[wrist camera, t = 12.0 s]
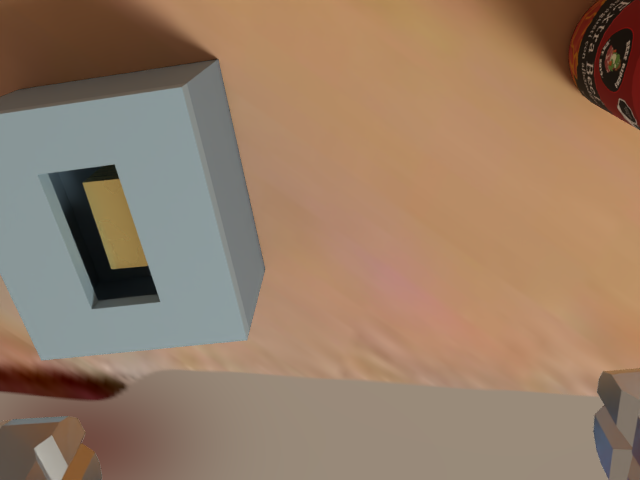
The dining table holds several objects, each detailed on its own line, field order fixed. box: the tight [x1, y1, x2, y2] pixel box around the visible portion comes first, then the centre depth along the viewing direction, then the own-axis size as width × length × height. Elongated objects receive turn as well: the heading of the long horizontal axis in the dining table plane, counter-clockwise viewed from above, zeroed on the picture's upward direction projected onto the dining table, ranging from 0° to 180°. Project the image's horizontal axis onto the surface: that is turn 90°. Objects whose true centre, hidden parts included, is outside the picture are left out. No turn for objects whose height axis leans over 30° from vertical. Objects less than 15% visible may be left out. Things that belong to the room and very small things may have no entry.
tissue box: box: [0, 59, 265, 360], centre depth 36 cm, size 16×14×9 cm
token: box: [83, 164, 148, 269], centre depth 37 cm, size 6×2×6 cm, turn 7°
